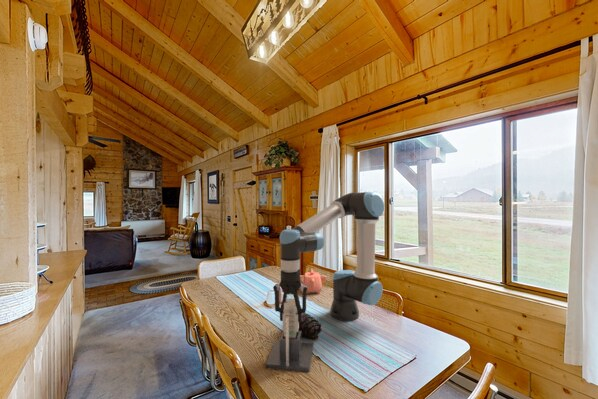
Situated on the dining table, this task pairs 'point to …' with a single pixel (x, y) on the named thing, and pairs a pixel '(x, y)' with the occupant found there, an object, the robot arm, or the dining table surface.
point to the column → (291, 312)
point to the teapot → (313, 281)
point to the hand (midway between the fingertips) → (290, 329)
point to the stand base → (290, 353)
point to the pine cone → (309, 327)
